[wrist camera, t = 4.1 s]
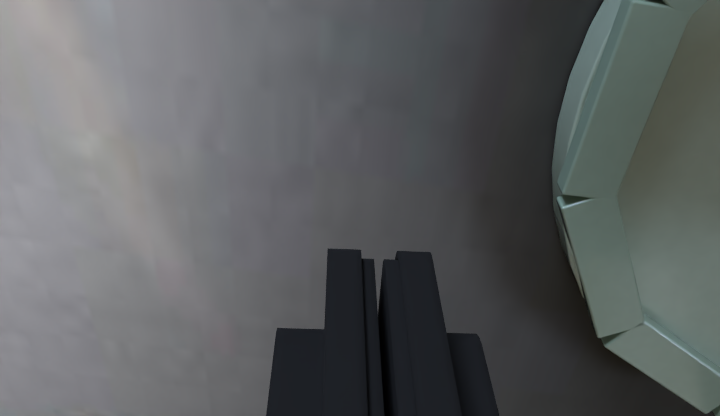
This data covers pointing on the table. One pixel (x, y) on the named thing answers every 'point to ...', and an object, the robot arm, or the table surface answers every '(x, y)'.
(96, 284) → the table surface
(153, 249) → the table surface
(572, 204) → the plate
